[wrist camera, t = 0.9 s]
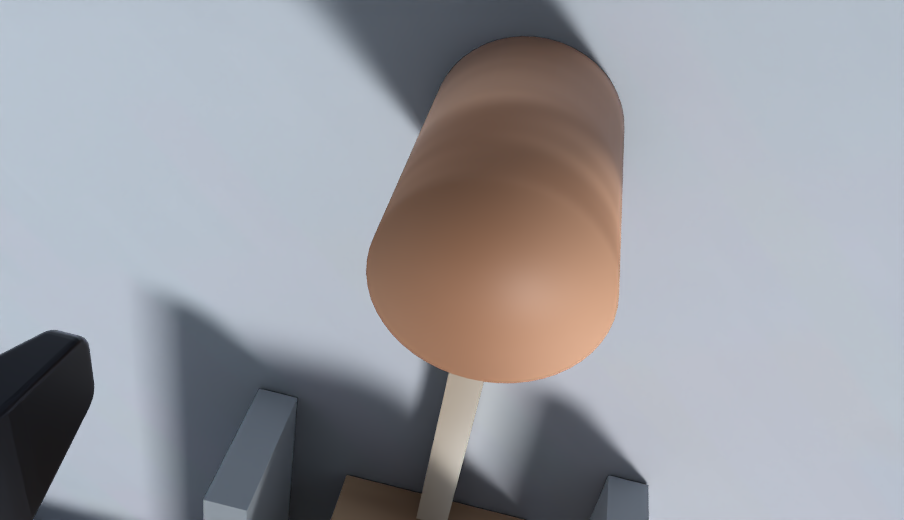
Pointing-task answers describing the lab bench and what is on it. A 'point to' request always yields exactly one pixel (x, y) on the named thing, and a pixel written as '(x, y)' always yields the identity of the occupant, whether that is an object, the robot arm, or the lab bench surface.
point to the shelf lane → (270, 469)
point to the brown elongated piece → (498, 245)
